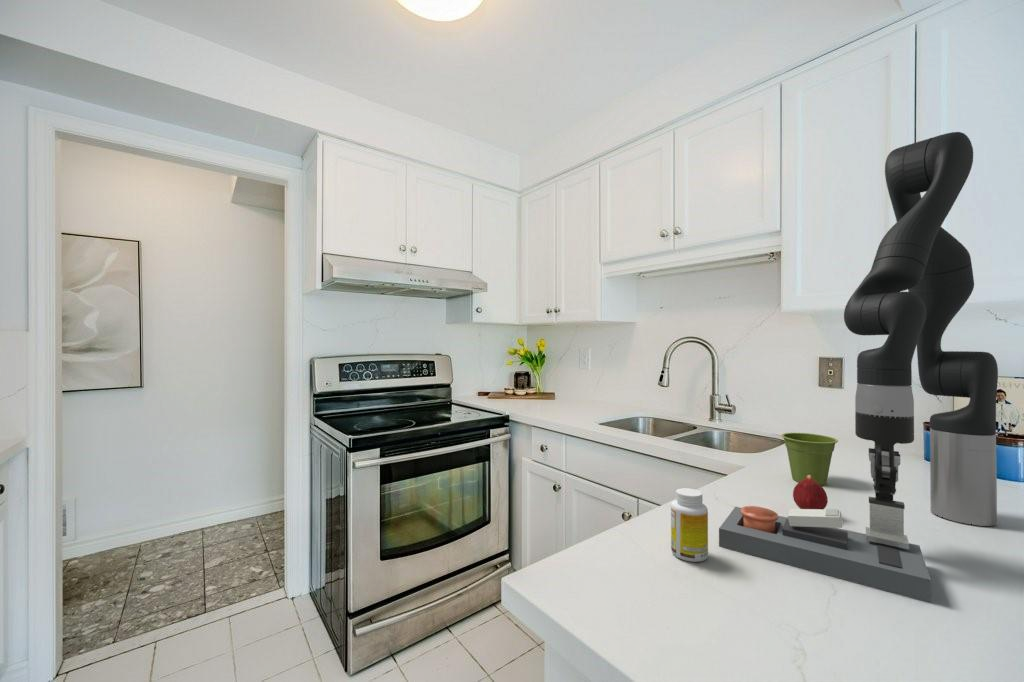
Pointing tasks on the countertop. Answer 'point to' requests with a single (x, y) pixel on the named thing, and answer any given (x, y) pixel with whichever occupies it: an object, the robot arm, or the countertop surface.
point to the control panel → (833, 554)
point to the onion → (810, 494)
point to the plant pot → (809, 455)
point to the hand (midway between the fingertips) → (884, 514)
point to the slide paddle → (887, 523)
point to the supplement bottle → (689, 526)
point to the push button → (759, 518)
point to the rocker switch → (815, 518)
